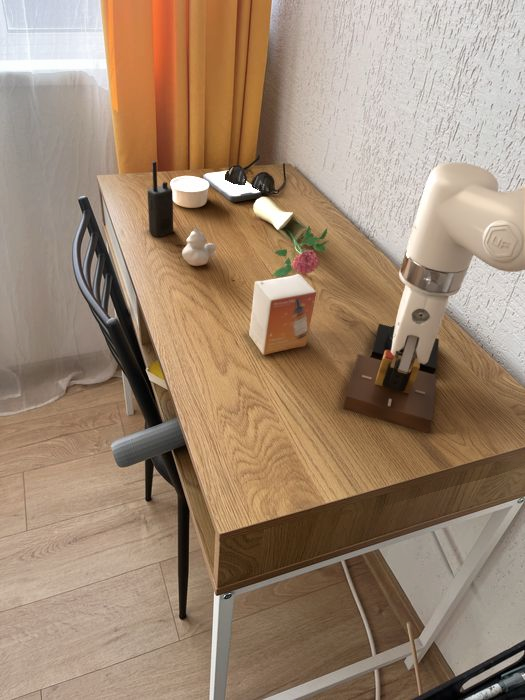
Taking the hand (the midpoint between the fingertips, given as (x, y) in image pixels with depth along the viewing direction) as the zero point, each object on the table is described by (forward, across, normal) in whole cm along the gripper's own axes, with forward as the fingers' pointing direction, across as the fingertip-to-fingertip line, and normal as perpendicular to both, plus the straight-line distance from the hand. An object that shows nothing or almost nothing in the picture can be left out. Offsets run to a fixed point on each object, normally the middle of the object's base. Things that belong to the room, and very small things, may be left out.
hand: (394, 379), depth 75 cm
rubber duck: (+4, +23, +40) cm, 46 cm away
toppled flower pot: (+4, +34, +26) cm, 43 cm away
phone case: (+4, +60, +47) cm, 76 cm away
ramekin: (+4, +48, +53) cm, 72 cm away
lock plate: (+4, 0, 0) cm, 4 cm away
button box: (+4, +11, -1) cm, 12 cm away
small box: (+4, +6, +19) cm, 20 cm away
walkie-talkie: (+4, +31, +52) cm, 61 cm away
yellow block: (+1, 0, 0) cm, 1 cm away
